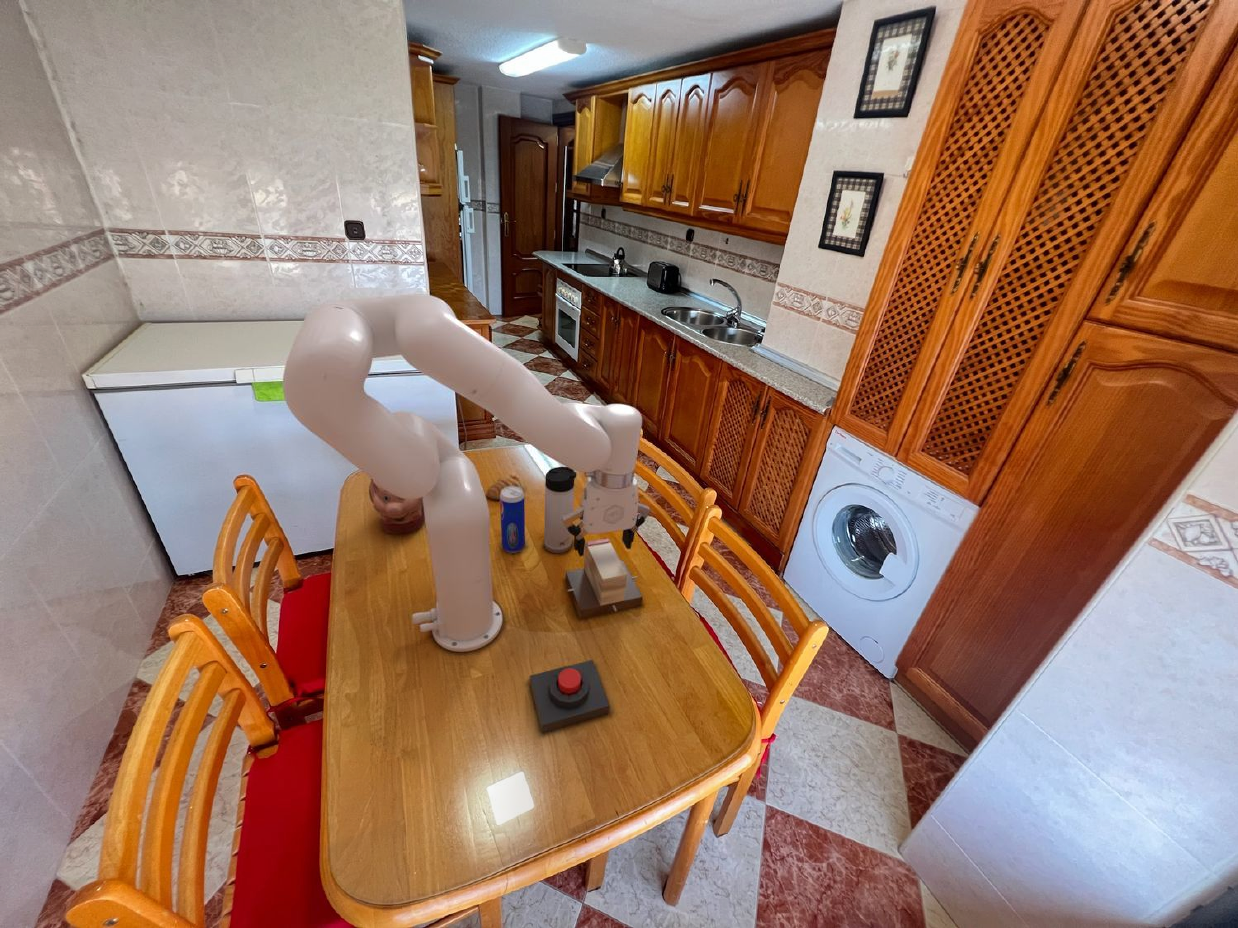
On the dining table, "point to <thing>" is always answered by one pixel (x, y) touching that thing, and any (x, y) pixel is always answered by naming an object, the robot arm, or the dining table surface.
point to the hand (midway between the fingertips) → (603, 547)
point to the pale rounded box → (605, 571)
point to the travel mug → (558, 508)
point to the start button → (569, 681)
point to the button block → (568, 697)
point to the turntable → (587, 599)
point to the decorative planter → (396, 510)
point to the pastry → (503, 486)
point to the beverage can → (512, 519)
